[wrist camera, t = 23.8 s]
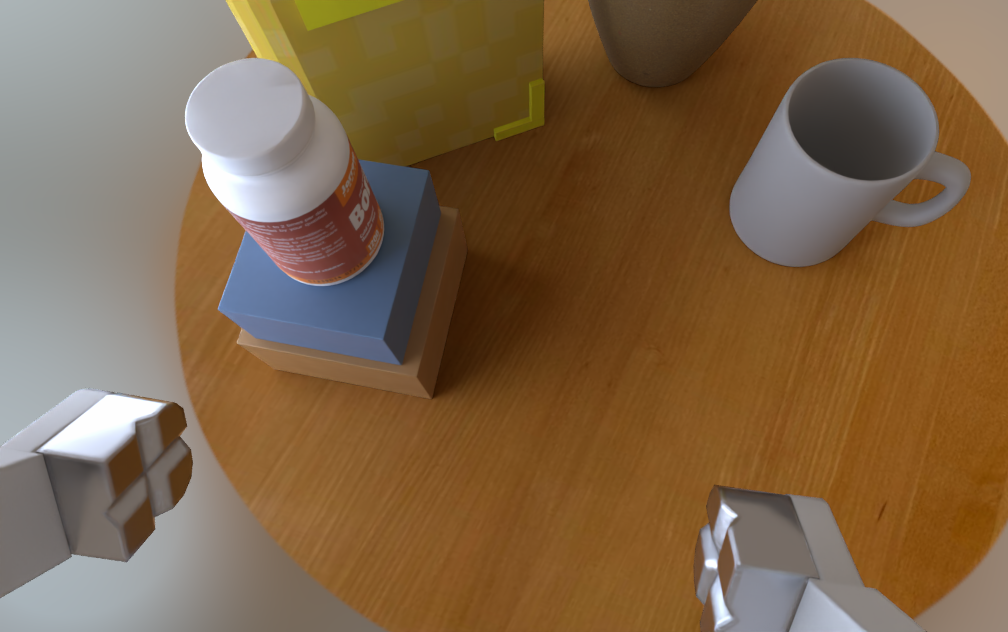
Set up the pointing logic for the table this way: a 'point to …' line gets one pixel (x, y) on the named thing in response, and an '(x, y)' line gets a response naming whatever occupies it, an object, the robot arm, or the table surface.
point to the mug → (841, 163)
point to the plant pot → (664, 35)
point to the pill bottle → (285, 171)
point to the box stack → (361, 297)
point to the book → (409, 68)
